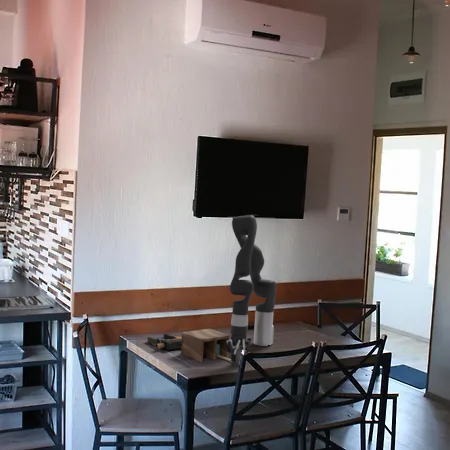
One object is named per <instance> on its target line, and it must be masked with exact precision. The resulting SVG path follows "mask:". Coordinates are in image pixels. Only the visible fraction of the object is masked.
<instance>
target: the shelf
mask: <svg viewBox="0 0 450 450" xmlns="http://www.w3.org/2000/svg"><path fill="white" fill-rule="evenodd" d="M230 335H231V334H230ZM230 335H229V334H227V333H224V332H221V331H218V330H215V329H212V328H204V329H197V330H189V331H183V332H181V336H182V343H181V348H180V355H183V356H186V357H188V358H191V359H193V360H196V361H197V360H198V361H197V362H203V360H204V357H206V358H209V359H210V360H211V359H212V360H217V356H216V347H217V344H219V345H220V353H219V355H221V356H224V357H226V358H229V355H230V353H228V352H227V347H226V340H230V339H231V337H230Z"/></svg>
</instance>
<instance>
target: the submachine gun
mask: <svg viewBox="0 0 450 450" xmlns="http://www.w3.org/2000/svg"><path fill="white" fill-rule="evenodd" d="M163 338H164V339H162V338H161V339H160V338H154V337H151V336H147V339H146V341H147V342H148V344H151V345H154V346H155V348H156V349H160V348H161V350H166V351H168V350H176V349H177V350H179V349H181V343H182V335H175V334H172V333H163Z"/></svg>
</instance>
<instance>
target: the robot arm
mask: <svg viewBox="0 0 450 450" xmlns="http://www.w3.org/2000/svg"><path fill="white" fill-rule="evenodd" d="M231 227H232V231H233V234H234V236H235V238H236V240H237V243H238V244H239V247H240V249H239V251H238V253H237V254H236V258H235V266H234V267H235V268H234V274H233V277H232V280H231V282H230V284H229V292H230V293H231V295H234V296H243V297H244V298H241V299H236V300H234V301H233V302H232V310H231V311H232V314H231V319H230V320H231V323H230V335H231V337H230V339H229V340H226V347H227V352H228V353H229V354H230V359H231V361H232V362H231V363H233V362H236V351H237V349H238V348H241V349H242V350H246V351H245V352H247V351H249V348H250V345H251V342H252V338H251V337H248V336H247V335H248V331H249V330H248V329H249V327H248V326H249V305H250V302H251V301H250V300H251V296H252V295H253V293H254V295H255V296H256V297H259V298H264V299H265V301H264V302H261V303H257V304H256V305H255V311H254V312H255V315H254V330H253V331H254V332H253V345H255V346H261V347H268V345H270V346H271V345H274V333H275V326H274V325H273V323H274V312H275V304H276V296H277V282H276V281H274V280H272V279H265V278H264V279H263V278H262V277H261V272H262V270H263V268H264V266H265V258H264V254H263V251H262V250H261V248H260V247H259V246H258V245H257V244H255V240H256V237H257V230H258V222H257V219H256V217H255V216H254V215H252V214H251V215H239V216H235V217H233V218H232V220H231ZM248 276H249V277H250V279H242V278H246V277H248Z"/></svg>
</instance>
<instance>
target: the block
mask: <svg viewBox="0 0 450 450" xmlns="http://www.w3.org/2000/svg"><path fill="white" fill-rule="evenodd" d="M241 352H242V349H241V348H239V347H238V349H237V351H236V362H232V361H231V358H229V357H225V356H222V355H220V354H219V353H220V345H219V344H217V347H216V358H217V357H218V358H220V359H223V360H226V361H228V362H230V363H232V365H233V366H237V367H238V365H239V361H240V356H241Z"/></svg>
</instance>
